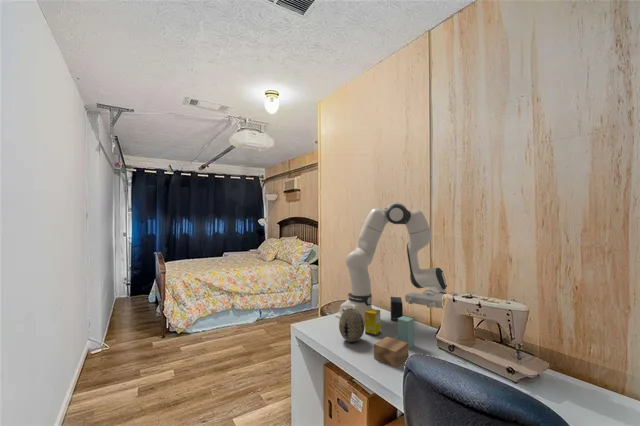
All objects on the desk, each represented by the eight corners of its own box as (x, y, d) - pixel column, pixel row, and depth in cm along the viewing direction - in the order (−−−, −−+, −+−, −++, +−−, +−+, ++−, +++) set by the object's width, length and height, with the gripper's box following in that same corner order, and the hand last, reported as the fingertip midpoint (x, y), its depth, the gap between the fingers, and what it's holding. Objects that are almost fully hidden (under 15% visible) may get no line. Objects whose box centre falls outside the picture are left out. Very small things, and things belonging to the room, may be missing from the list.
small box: (403, 321, 157) (402, 302, 157) (391, 321, 159) (390, 301, 159) (401, 315, 168) (401, 296, 168) (390, 314, 169) (389, 296, 169)
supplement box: (370, 329, 148) (369, 308, 148) (381, 332, 144) (380, 310, 144) (364, 333, 143) (364, 311, 143) (376, 336, 139) (375, 313, 139)
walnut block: (374, 359, 118) (373, 344, 118) (387, 350, 125) (386, 336, 125) (396, 367, 111) (395, 351, 111) (408, 357, 118) (408, 343, 118)
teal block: (398, 345, 129) (397, 318, 129) (403, 342, 132) (403, 315, 132) (408, 349, 125) (407, 321, 125) (414, 345, 129) (413, 318, 129)
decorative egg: (368, 338, 137) (367, 306, 137) (358, 348, 127) (357, 314, 127) (346, 333, 143) (345, 303, 143) (334, 342, 133) (334, 310, 133)
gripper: (412, 288, 154) (398, 293, 145) (451, 294, 140) (439, 300, 130) (412, 300, 154) (399, 306, 144) (452, 307, 140) (440, 315, 130)
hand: (418, 304), depth 137 cm, fingers open, 8 cm apart
